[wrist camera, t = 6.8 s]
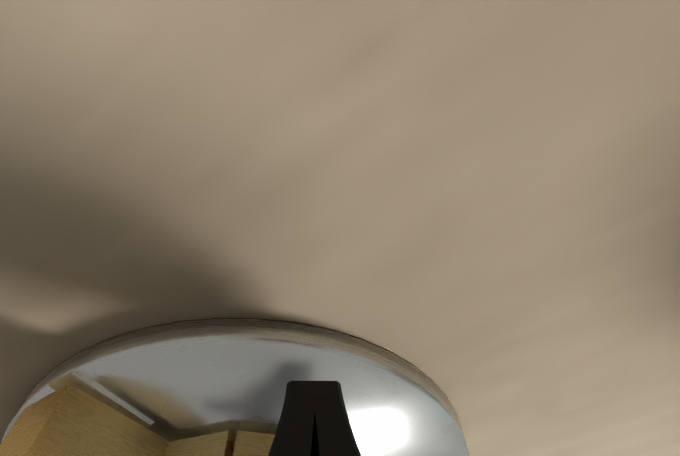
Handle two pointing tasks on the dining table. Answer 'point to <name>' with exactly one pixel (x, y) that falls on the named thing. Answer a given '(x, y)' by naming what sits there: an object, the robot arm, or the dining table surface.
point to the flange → (258, 383)
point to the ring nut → (110, 433)
